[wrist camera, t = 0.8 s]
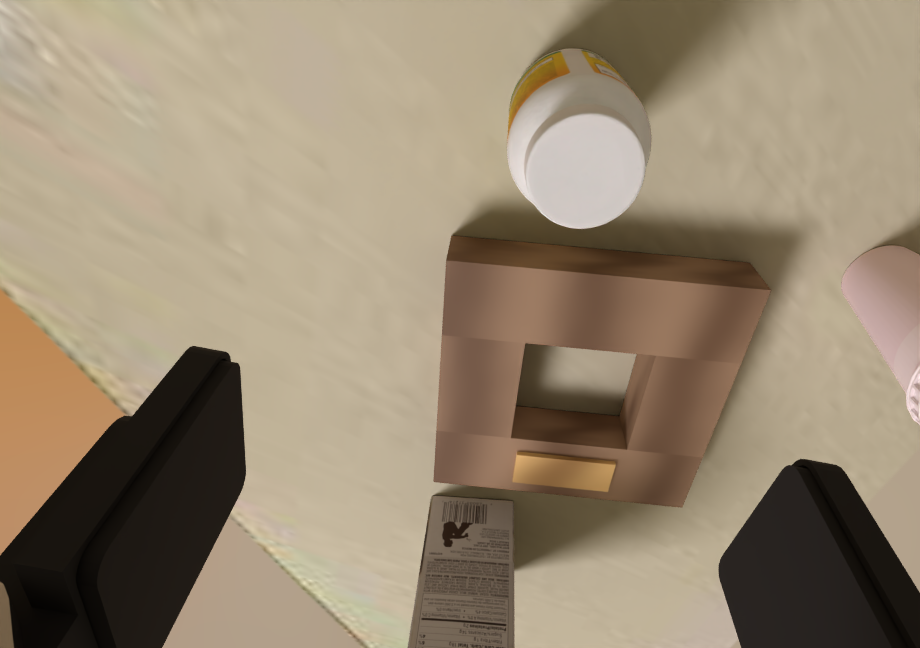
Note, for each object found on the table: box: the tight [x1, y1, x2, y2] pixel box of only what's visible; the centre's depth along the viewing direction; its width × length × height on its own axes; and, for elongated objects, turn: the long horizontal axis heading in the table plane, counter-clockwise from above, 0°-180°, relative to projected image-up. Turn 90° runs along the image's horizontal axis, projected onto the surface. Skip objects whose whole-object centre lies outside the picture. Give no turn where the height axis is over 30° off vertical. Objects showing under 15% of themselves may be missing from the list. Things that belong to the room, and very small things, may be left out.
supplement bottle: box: [507, 48, 651, 229], centre depth 23 cm, size 5×5×10 cm
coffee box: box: [408, 496, 514, 648], centre depth 38 cm, size 9×6×16 cm
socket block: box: [434, 236, 771, 507], centre depth 34 cm, size 16×16×3 cm
